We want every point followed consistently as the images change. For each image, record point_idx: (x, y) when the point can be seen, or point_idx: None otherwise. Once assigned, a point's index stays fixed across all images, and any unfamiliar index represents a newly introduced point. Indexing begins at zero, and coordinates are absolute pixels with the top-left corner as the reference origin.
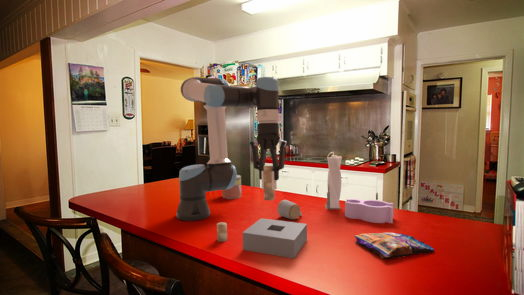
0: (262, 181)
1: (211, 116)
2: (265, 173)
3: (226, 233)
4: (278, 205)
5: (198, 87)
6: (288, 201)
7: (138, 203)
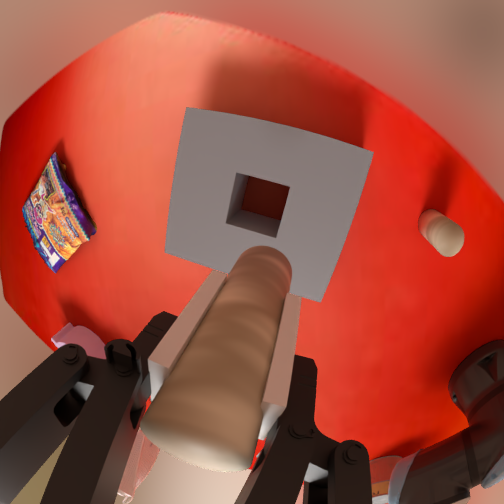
0: (289, 332)
1: None
2: (241, 368)
3: (426, 226)
4: None
5: None
6: None
7: None
